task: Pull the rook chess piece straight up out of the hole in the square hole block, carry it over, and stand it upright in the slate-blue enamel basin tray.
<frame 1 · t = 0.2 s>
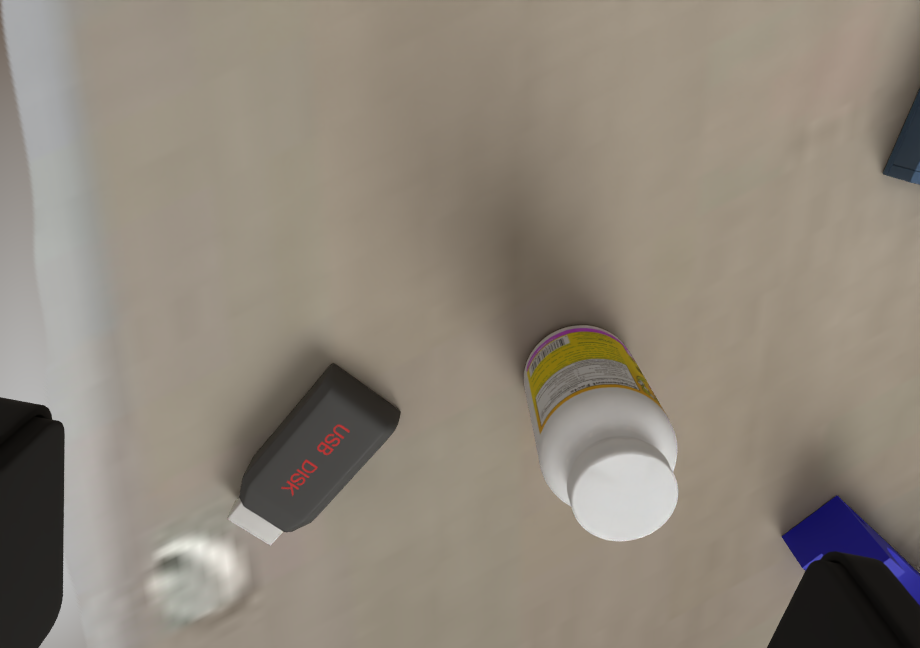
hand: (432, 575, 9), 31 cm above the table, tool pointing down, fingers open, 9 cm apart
cable clip: (860, 563, 48), on the table
supplement bottle: (576, 370, 42), on the table
usb drive: (311, 450, 44), on the table
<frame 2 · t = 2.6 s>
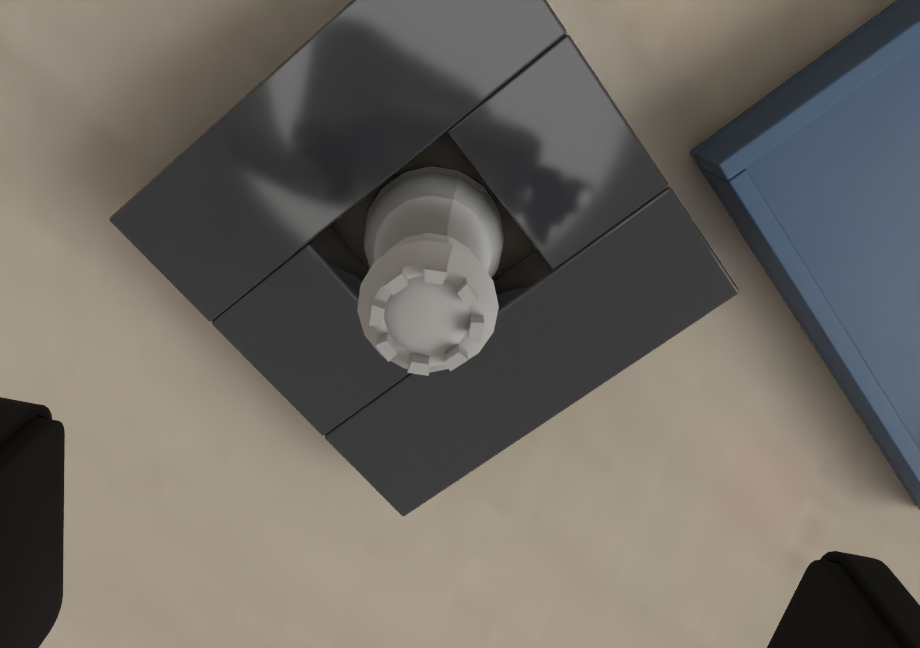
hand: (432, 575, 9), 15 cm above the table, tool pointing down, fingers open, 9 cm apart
square hole block: (434, 232, 23), on the table
rook chess piece: (434, 231, 23), resting in square hole block
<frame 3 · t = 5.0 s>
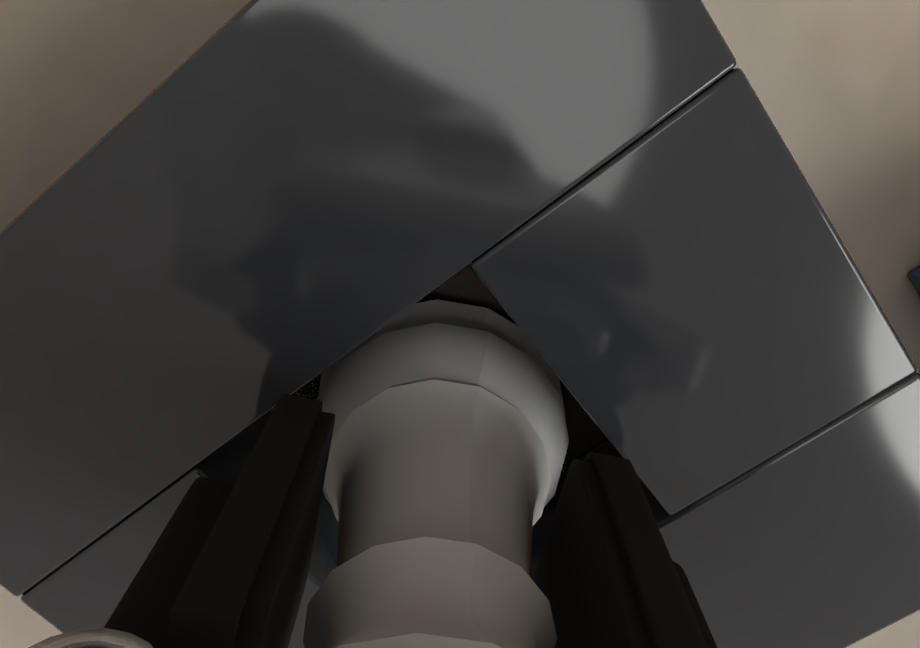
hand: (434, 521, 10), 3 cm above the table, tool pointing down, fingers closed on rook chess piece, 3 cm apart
square hole block: (441, 404, 13), on the table
rook chess piece: (441, 399, 13), resting in square hole block, touching gripper
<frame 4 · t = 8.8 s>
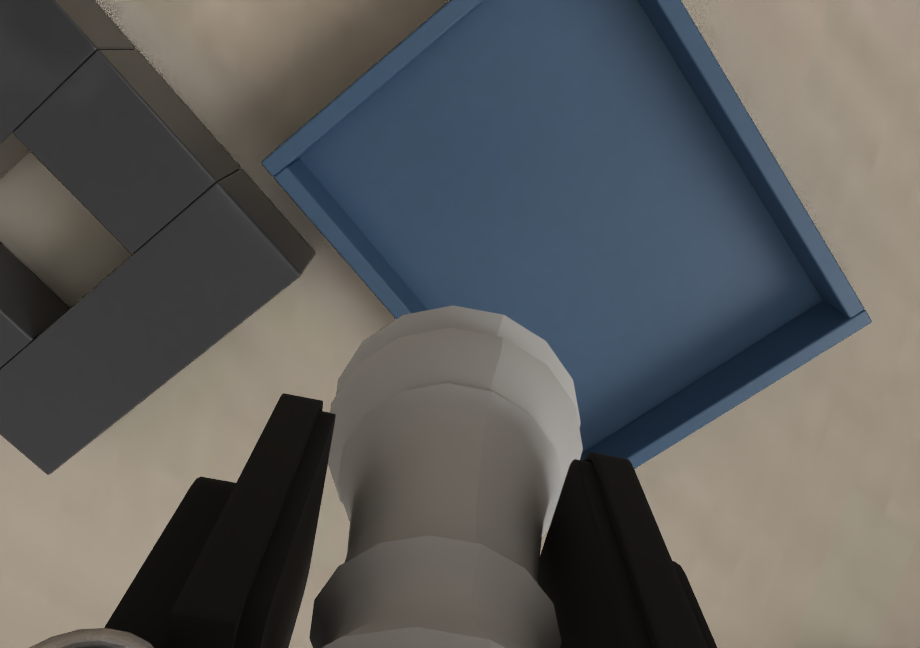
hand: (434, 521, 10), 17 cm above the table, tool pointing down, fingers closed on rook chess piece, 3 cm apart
square hole block: (66, 222, 26), on the table
basin tray: (569, 228, 26), on the table
rook chess piece: (457, 405, 13), point 14 cm above the table, touching gripper
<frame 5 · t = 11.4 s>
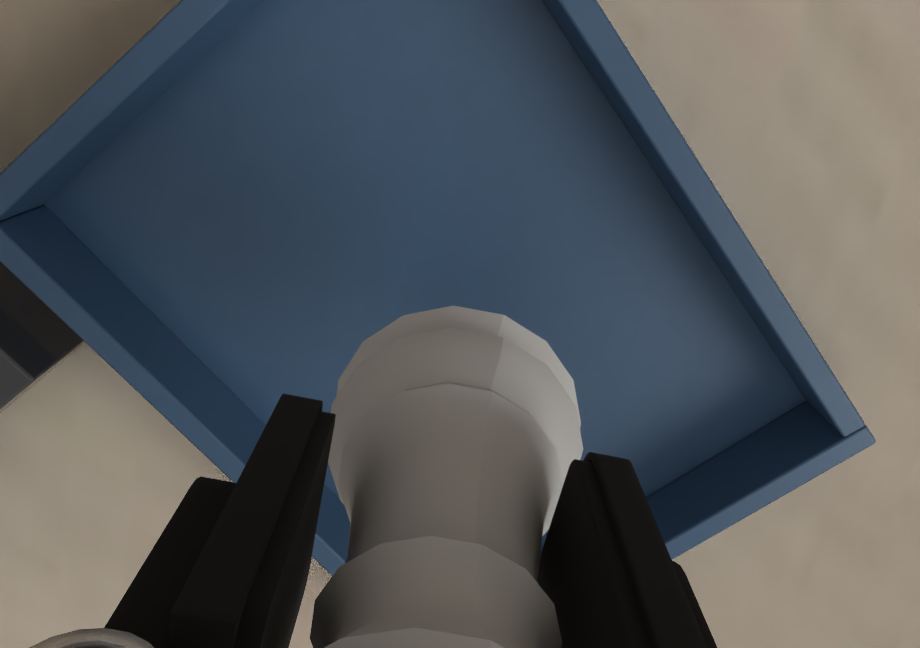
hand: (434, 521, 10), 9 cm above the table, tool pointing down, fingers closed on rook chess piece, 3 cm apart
basin tray: (447, 300, 18), on the table
rook chess piece: (457, 405, 13), point 5 cm above the table, touching gripper
when the fingers open (4 cm above the table, at t = 13.1 s): rook chess piece stays where it is, resting on basin tray.
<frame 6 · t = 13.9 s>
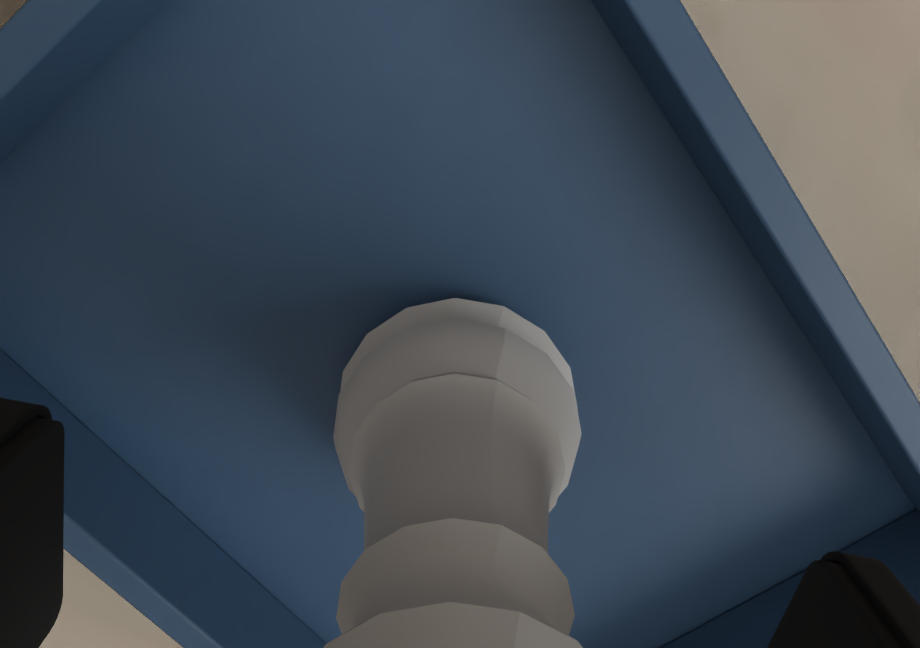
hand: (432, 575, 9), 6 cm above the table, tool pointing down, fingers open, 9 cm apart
basin tray: (446, 380, 14), on the table
rook chess piece: (457, 394, 14), resting on basin tray
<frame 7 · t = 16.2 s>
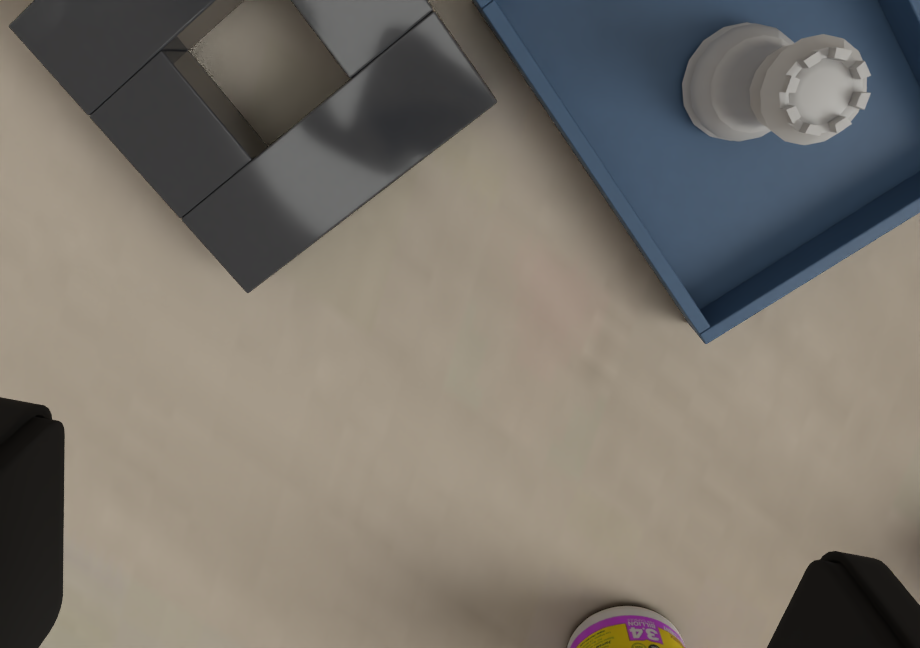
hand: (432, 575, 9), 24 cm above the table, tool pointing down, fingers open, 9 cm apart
square hole block: (275, 63, 29), on the table
supplement bottle: (621, 642, 40), on the table
basin tray: (724, 78, 29), on the table
rook chess piece: (732, 82, 28), resting on basin tray
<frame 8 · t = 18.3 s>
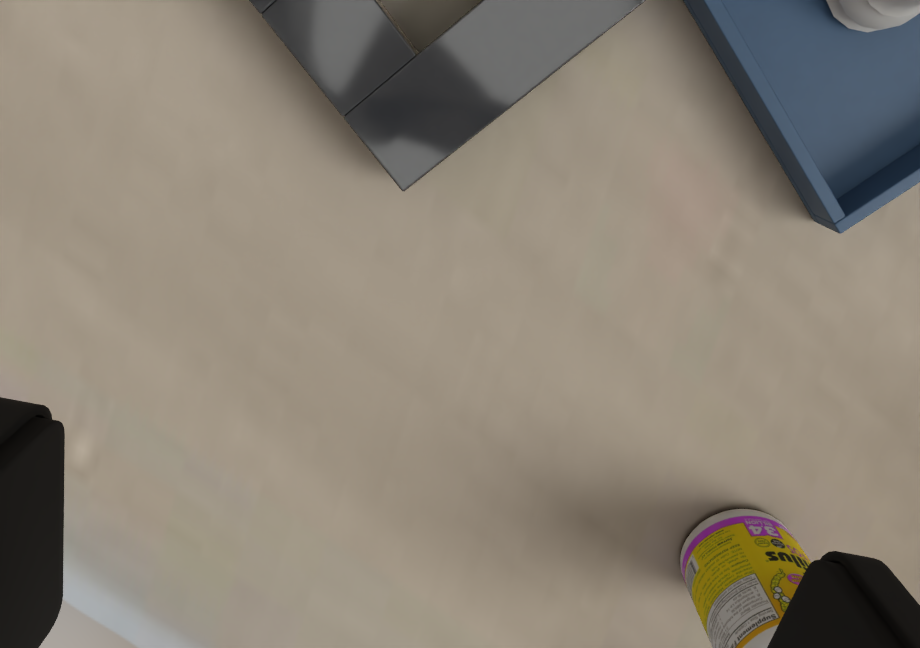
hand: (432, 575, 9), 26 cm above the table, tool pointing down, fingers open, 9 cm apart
supplement bottle: (731, 547, 41), on the table
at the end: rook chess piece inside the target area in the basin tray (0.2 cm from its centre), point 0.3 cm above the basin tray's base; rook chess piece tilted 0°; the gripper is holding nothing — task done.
